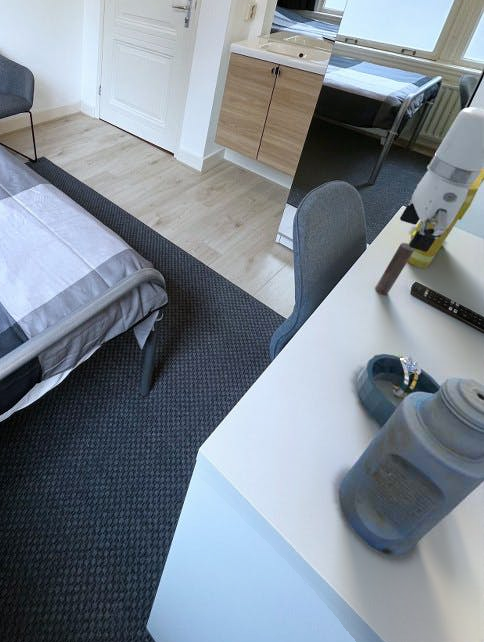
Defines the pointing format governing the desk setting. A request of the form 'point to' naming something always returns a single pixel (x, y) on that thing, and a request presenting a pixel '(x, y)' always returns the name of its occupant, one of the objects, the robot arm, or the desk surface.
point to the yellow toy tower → (425, 258)
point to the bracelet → (407, 376)
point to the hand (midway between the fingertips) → (412, 234)
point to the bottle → (417, 467)
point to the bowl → (393, 372)
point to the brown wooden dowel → (394, 268)
